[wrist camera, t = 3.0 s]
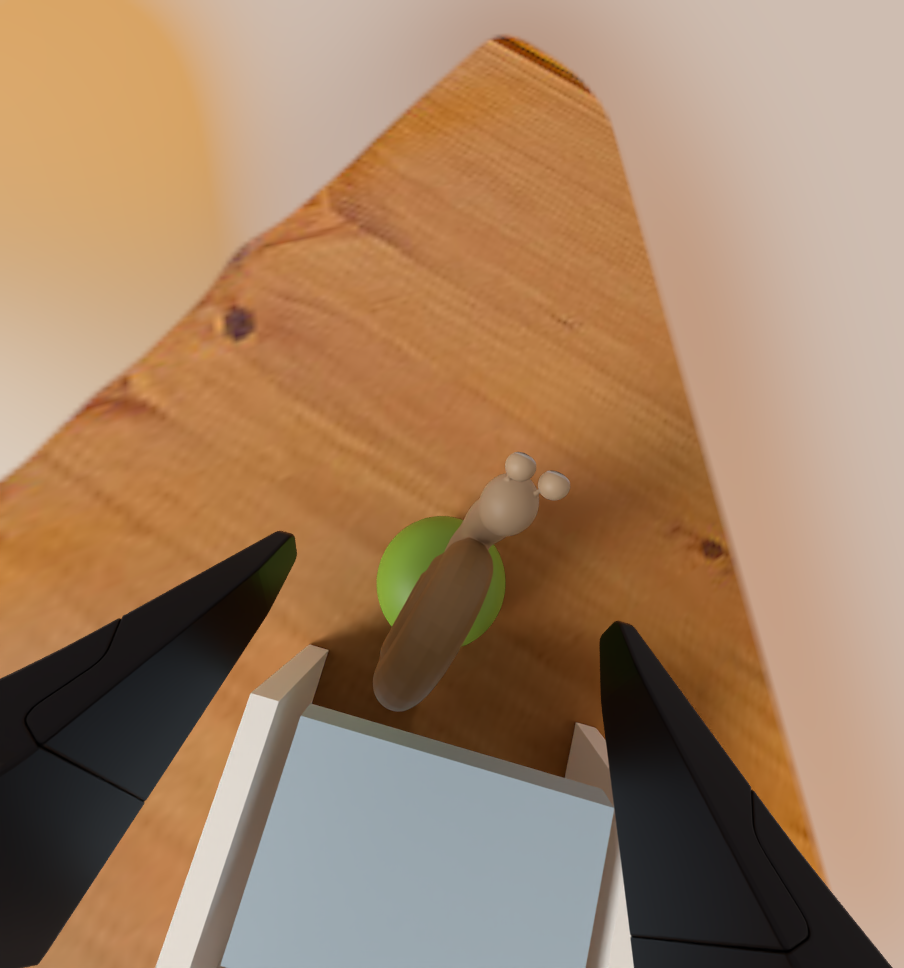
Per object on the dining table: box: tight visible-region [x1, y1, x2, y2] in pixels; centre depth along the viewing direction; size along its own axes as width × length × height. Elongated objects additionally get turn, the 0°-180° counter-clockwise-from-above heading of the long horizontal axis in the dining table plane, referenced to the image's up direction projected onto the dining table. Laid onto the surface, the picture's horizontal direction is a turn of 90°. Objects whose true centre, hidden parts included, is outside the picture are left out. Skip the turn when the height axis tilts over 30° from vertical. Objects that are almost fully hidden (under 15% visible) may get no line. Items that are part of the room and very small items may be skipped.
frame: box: [156, 644, 634, 968], centre depth 13 cm, size 14×12×5 cm
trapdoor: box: [220, 703, 614, 968], centre depth 10 cm, size 11×12×2 cm
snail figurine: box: [373, 452, 570, 711], centre depth 11 cm, size 5×6×12 cm
